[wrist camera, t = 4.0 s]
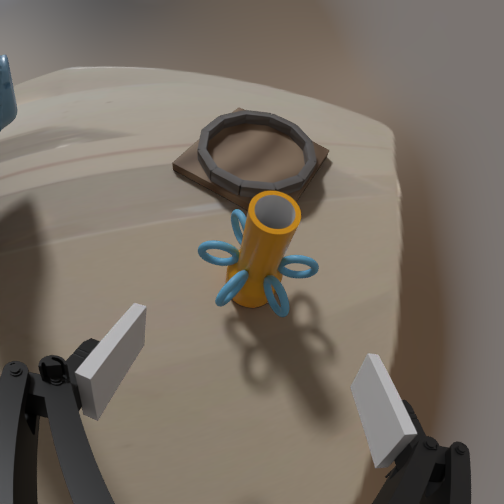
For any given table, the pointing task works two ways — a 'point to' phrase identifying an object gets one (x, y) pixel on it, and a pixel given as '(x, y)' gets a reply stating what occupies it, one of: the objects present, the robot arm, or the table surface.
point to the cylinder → (260, 253)
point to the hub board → (251, 157)
